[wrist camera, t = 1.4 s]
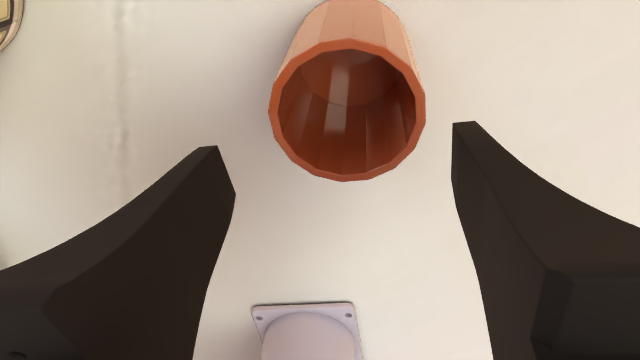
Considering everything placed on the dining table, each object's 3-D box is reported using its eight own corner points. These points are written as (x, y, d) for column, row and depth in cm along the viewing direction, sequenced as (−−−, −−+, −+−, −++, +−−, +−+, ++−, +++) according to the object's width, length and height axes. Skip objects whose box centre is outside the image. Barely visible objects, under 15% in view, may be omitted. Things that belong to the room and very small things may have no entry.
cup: (410, 100, 22) (427, 175, 17) (305, 112, 23) (286, 186, 18) (405, -15, 19) (423, 28, 14) (283, 4, 20) (252, 51, 14)
